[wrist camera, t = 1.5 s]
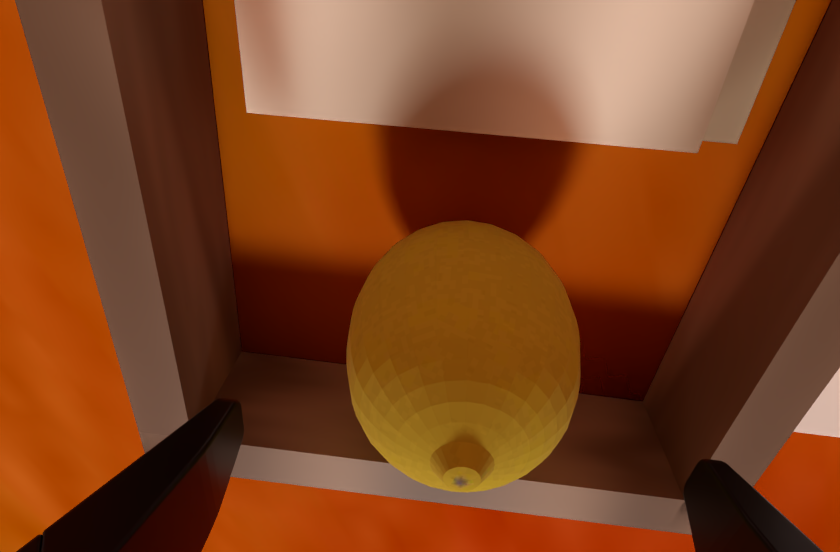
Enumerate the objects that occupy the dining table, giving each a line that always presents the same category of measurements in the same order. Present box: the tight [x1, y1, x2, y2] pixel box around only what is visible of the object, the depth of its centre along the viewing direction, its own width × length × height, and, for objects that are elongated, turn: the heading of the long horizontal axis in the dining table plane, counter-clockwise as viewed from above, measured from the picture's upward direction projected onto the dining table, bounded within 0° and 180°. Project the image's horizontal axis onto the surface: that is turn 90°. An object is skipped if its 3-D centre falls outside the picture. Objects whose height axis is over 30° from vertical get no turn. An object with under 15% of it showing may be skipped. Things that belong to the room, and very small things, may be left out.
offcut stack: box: [234, 0, 796, 153], centre depth 11 cm, size 12×4×3 cm, turn 86°
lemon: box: [346, 220, 581, 492], centre depth 12 cm, size 6×6×8 cm
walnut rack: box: [15, 0, 840, 535], centre depth 13 cm, size 18×18×4 cm
